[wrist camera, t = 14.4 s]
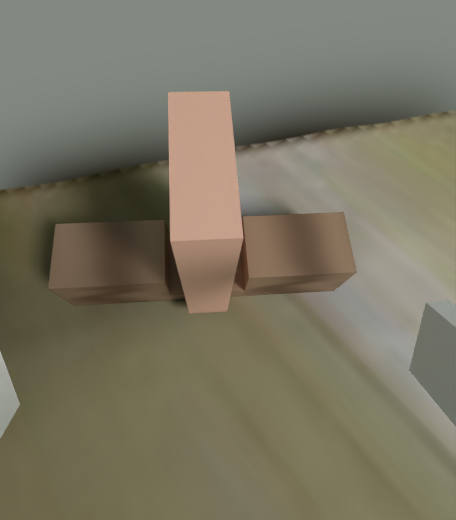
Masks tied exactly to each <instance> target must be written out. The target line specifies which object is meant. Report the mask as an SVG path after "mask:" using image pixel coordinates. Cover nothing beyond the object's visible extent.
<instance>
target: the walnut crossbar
mask: <svg viewBox="0 0 456 520" xmlns="http://www.w3.org/2000/svg"><path fill="white" fill-rule="evenodd" d="M242 229H243V242H242V246H241V251H240V255H239V260H238V264H237V269H236V273H235V278H234V282H233V287H232V291H231V296H230V297H233V296H250V295H267V294H285V293H302V292H319V291H334V290H335V289H336V288H338V287H339V286H340V285H341V284H343V283H344V282H345V281H346V280H348V279H349V278H350V277H351V276H353V275H354V274H355V273H356V272H357V271H356V267H355V262H354V257H353V253H352V248H351V244H350V239H349V234H348V230H347V225H346V221H345V216H344V212H337V213H313V214H288V215H264V216H243V219H242ZM48 289H49V290H51V291H52V292H54V293H55V294H57V295H59V296H60V297H62V298H63V299H65V300H66V301H68V302H70V303H71V304H73V305H74V306H77V305H94V304H111V303H129V302H146V301H163V300H181V299H185V295H184V291H183V288H182V284H181V280H180V276H179V273H178V269H177V265H176V261H175V257H174V254H173V250H172V246H171V242H170V239H169V235H168V231H167V227H166V223H165V220H141V221H116V222H91V223H67V224H56V225H55V233H54V242H53V250H52V259H51V267H50V276H49V284H48Z"/></svg>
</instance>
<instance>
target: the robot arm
mask: <svg viewBox="0 0 456 520" xmlns="http://www.w3.org/2000/svg"><path fill="white" fill-rule="evenodd" d="M409 370H410V372H411V373H412V374H413V375H414V376H415V378H416V379H417V380H418V381H419V382H420V384H421V385H422V386H423V387H424V389H425V390H426V391H427V392H428V393H429V395H430V396H431V397H432V398H433V399H434V401H435V402H436V403H437V404H438V405H439V407H440V408H441V409H442V410H443V411H444V413H445V414H446V415H447V416H448V418H449V419H450V420H451V421H452V422H453V424H454V425H455V426H456V306H455V305H454V304H452V303H451V302H450V301H440V302H427V303H426V305H425V309H424V313H423V317H422V321H421V325H420V329H419V333H418V337H417V341H416V345H415V349H414V353H413V357H412V361H411V365H410V369H409ZM19 405H20V403H19V401H18V398H17V395H16V392H15V390H14V387H13V384H12V382H11V379H10V376H9V373H8V371H7V368H6V365H5V363H4V360H3V357H2V354H1V352H0V438H1V436H2V435H3V433H4V431H5V429H6V428H7V426H8V424H9V422H10V421H11V419H12V417H13V416H14V414H15V412H16V410H17V409H18V407H19Z"/></svg>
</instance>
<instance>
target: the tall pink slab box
mask: <svg viewBox="0 0 456 520" xmlns="http://www.w3.org/2000/svg"><path fill="white" fill-rule="evenodd" d="M229 96H230V95H229V91H219V92H218V91H214V92H213V91H212V92H168V118H169V189H170V242H171V246H172V250H173V254H174V257H175V261H176V265H177V269H178V273H179V276H180V280H181V284H182V288H183V291H184V295H185V299H186V303H187V307H188V310H189V313H205V312H221V311H227V310H228V305H229V301H230V296H231V291H232V287H233V282H234V278H235V273H236V269H237V264H238V260H239V255H240V251H241V246H242V242H243V229H242V219H241V209H240V199H239V188H238V178H237V168H236V157H235V147H234V137H233V126H232V116H231V106H230V97H229Z"/></svg>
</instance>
